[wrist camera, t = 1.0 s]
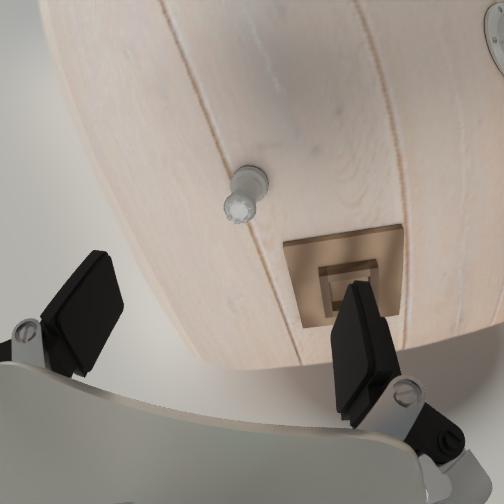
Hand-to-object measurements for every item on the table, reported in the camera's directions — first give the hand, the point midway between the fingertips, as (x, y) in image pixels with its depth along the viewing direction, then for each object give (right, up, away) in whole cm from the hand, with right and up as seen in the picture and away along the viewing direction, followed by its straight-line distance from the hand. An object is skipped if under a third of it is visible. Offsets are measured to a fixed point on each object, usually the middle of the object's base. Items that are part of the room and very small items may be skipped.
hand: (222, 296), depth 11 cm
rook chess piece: (+1, +10, +23) cm, 26 cm away
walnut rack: (+15, -2, +29) cm, 33 cm away
